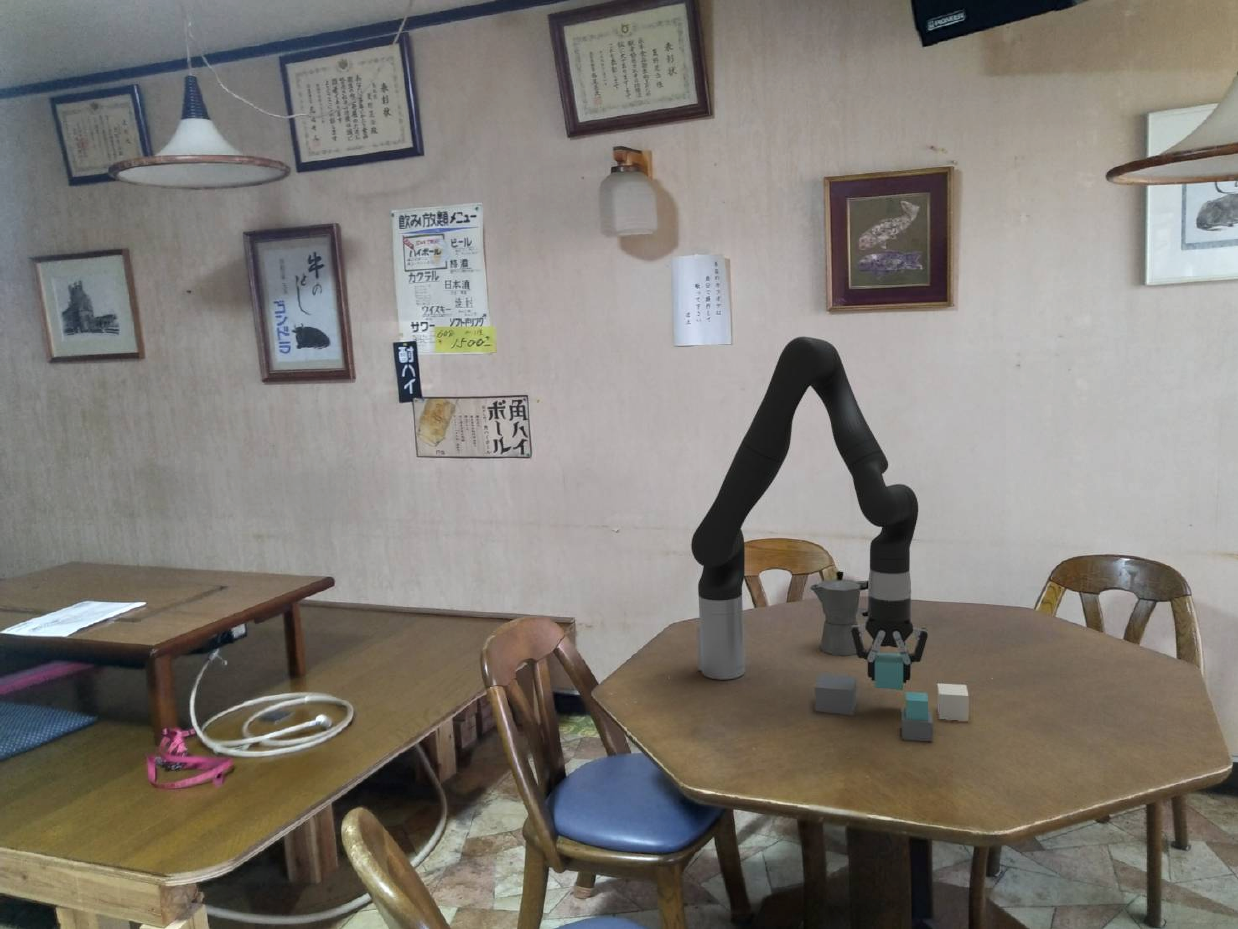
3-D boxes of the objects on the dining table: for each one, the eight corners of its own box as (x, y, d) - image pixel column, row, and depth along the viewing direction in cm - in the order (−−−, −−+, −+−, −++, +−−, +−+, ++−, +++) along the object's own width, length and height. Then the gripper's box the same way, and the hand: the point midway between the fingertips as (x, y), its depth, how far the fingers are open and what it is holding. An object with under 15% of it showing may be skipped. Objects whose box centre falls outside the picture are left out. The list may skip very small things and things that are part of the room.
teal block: (874, 687, 164) (874, 662, 163) (875, 677, 169) (875, 652, 168) (902, 690, 162) (903, 664, 162) (902, 679, 167) (902, 654, 166)
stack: (902, 739, 154) (902, 701, 153) (901, 727, 159) (901, 690, 158) (932, 741, 153) (932, 703, 152) (931, 729, 158) (931, 691, 157)
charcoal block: (815, 712, 168) (814, 687, 167) (820, 697, 174) (819, 673, 173) (853, 715, 165) (852, 690, 164) (856, 700, 172) (856, 676, 171)
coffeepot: (815, 657, 195) (813, 578, 192) (808, 642, 204) (806, 567, 202) (886, 655, 194) (885, 575, 191) (875, 640, 203) (874, 564, 201)
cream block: (939, 720, 161) (939, 694, 161) (937, 708, 166) (937, 683, 165) (968, 722, 160) (968, 695, 159) (966, 710, 165) (966, 685, 164)
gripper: (929, 588, 164) (928, 676, 167) (850, 585, 168) (850, 670, 171) (931, 600, 157) (930, 691, 160) (848, 596, 161) (848, 685, 164)
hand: (888, 680), depth 165 cm, fingers closed on teal block, 5 cm apart
